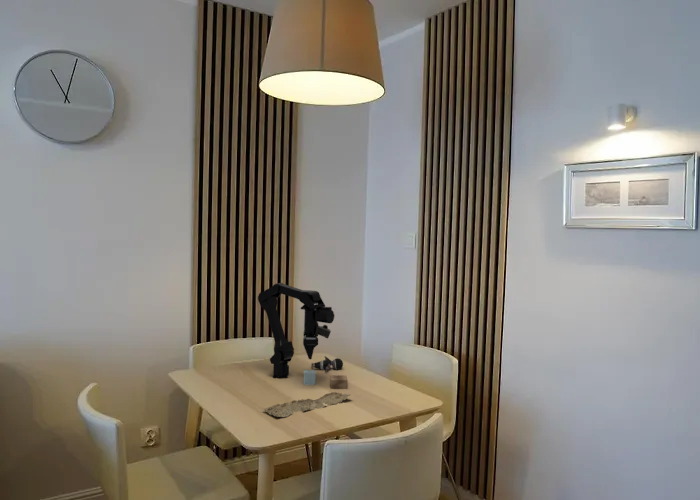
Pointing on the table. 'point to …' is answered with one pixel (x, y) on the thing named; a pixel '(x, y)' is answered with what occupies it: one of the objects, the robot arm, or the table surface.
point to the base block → (338, 382)
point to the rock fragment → (305, 404)
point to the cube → (309, 377)
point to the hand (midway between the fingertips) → (310, 356)
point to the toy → (328, 364)
